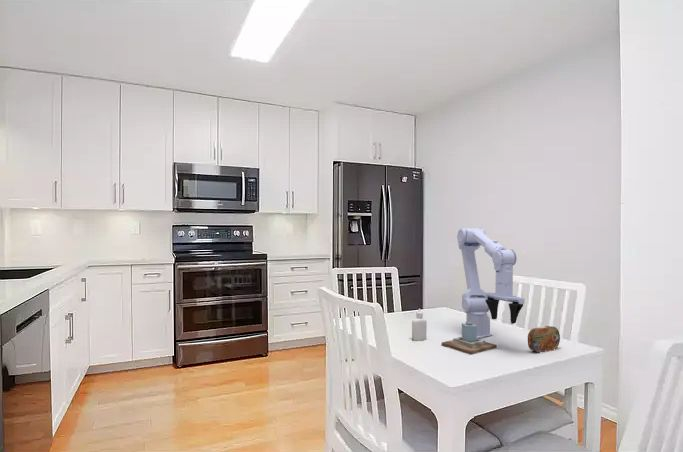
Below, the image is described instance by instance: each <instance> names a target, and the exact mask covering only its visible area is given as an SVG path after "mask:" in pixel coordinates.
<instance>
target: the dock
mask: <svg viewBox="0 0 683 452" xmlns="http://www.w3.org/2000/svg"><path fill="white" fill-rule="evenodd" d="M442 346H443V347H446V348H450V349H452V350H455V351H458V352H461V353H464V354H468V355H474V354H477V353H481V352H485V351H489V350H494V349H497V348H498V345H497V344H495V343H491V342H487V341H486V340H484V339H482V338H478V339H477V341H476V342H472V343H469V342H466V341H462V336H460V337H459V336H458V337H455V338H453V339H452V340H451V339H450V340H447V341H441V347H442Z"/></svg>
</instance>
